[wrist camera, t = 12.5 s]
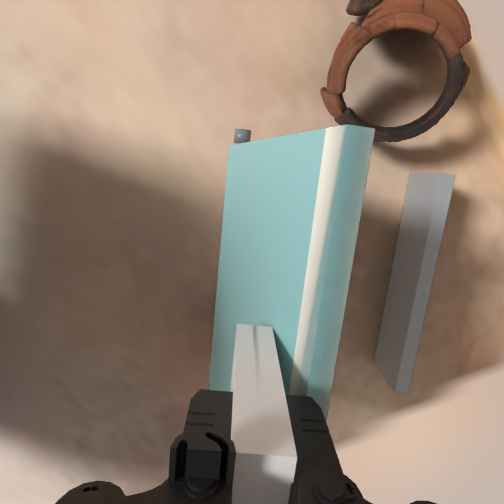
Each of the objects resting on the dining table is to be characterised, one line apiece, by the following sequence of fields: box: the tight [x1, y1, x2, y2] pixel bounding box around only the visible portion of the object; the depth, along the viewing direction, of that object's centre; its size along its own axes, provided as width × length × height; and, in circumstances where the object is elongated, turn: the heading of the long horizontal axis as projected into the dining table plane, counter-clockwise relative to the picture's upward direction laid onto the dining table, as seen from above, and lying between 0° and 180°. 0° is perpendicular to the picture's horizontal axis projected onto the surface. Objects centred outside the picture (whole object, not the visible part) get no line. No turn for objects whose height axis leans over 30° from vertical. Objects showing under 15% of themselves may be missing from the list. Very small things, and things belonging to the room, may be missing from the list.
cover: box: [209, 124, 375, 423], centre depth 18 cm, size 14×17×1 cm
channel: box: [234, 129, 456, 394], centre depth 27 cm, size 14×19×5 cm
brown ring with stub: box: [320, 0, 472, 142], centre depth 24 cm, size 12×10×8 cm
